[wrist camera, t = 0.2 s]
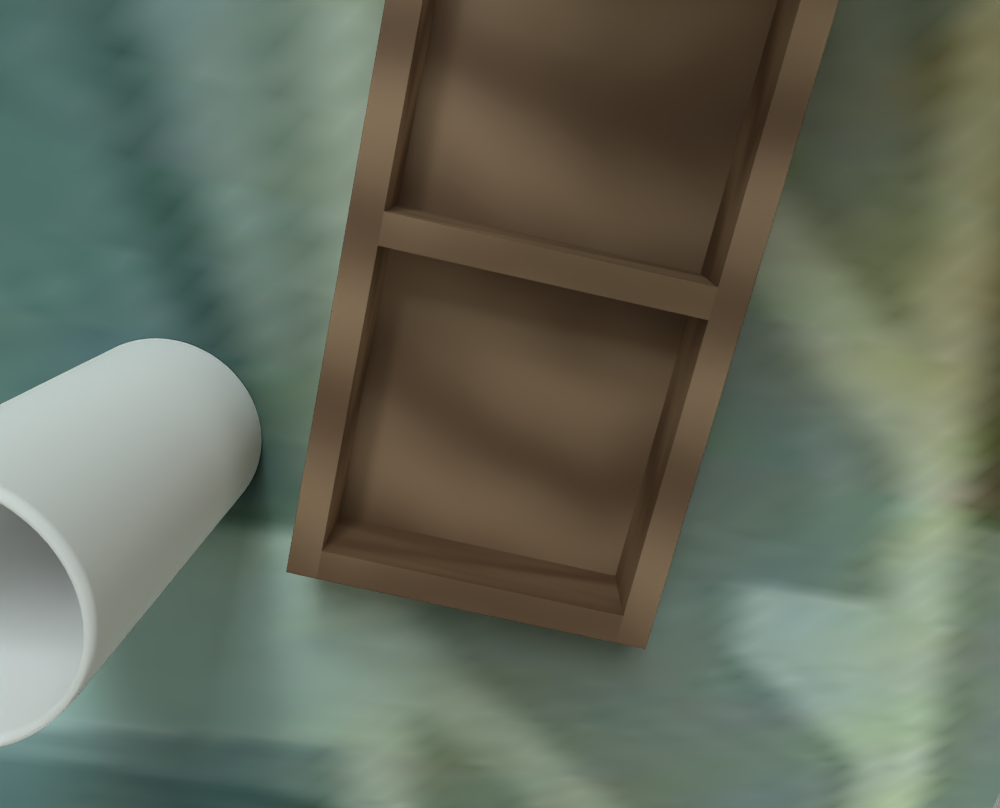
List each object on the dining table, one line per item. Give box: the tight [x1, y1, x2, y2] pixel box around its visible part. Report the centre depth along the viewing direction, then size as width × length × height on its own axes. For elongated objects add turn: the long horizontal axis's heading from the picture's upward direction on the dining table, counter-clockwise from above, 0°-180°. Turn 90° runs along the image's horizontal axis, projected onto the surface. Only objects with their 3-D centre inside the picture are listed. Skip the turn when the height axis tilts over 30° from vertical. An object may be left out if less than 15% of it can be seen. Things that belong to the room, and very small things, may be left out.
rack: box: [286, 0, 839, 649], centre depth 35 cm, size 28×14×4 cm, turn 168°
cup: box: [0, 338, 262, 747], centre depth 32 cm, size 8×8×16 cm
